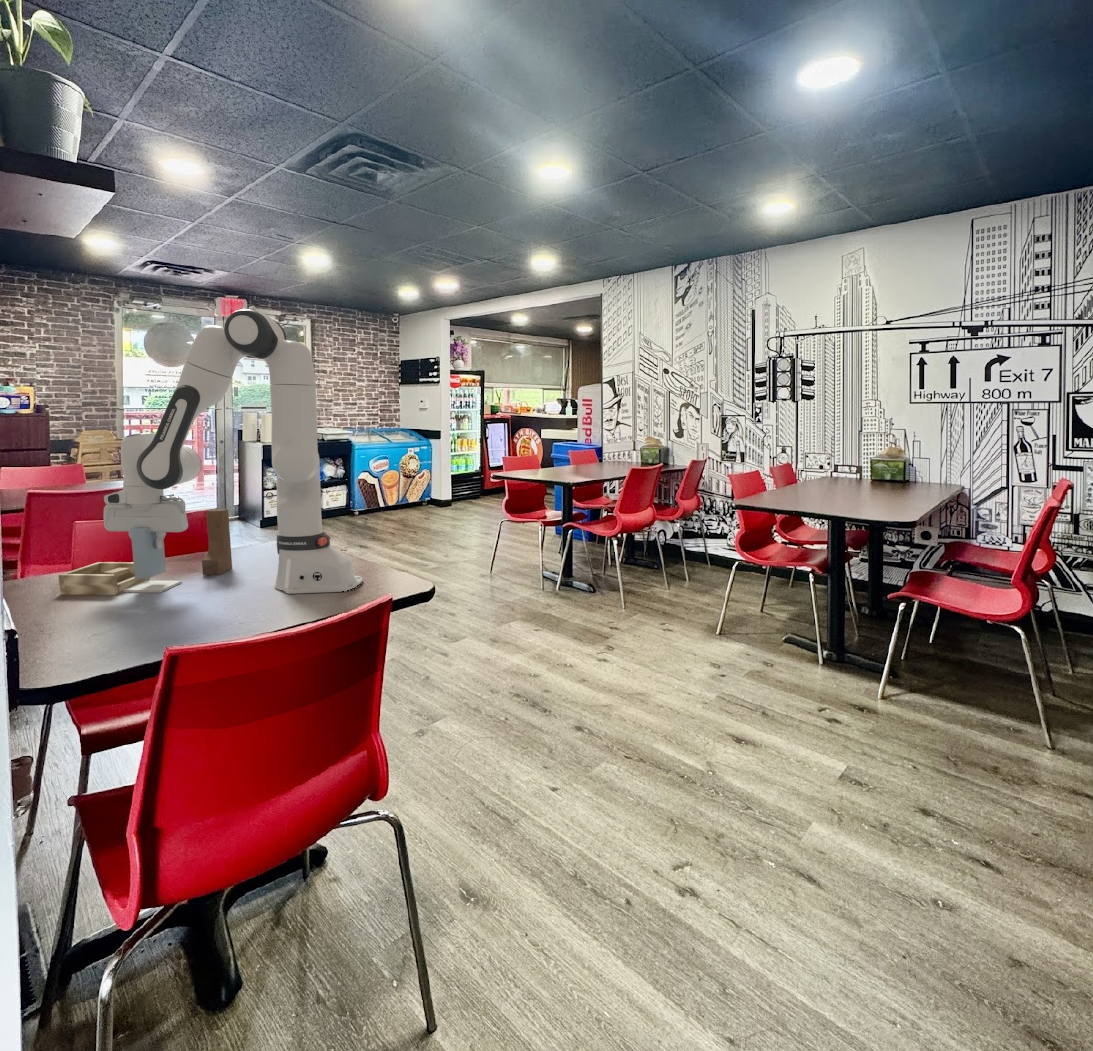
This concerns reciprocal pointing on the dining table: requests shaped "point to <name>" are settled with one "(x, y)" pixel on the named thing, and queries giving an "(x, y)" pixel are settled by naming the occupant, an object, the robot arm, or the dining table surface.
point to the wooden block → (218, 543)
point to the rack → (97, 579)
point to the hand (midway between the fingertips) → (148, 548)
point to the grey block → (146, 553)
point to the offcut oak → (119, 573)
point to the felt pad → (152, 586)
